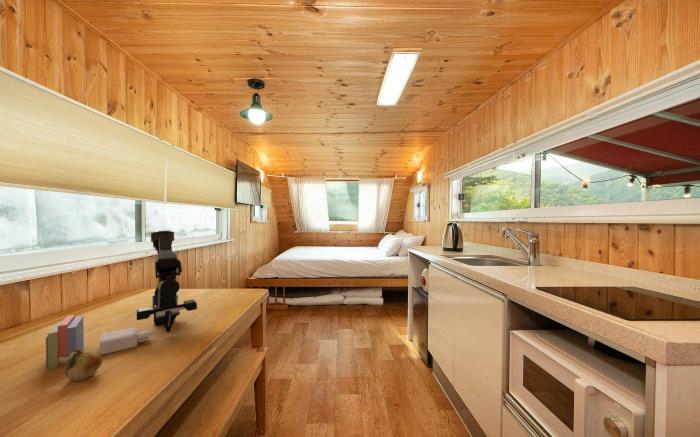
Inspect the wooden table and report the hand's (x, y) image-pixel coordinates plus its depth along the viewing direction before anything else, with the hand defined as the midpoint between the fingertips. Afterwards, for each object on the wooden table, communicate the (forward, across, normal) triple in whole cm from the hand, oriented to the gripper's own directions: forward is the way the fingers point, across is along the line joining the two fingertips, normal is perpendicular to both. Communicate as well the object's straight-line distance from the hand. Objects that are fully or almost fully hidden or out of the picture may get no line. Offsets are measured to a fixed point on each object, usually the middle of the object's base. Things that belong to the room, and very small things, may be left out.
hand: (168, 331), depth 105 cm
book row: (+2, +27, -1) cm, 27 cm away
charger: (+2, +11, 0) cm, 12 cm away
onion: (+2, +21, +18) cm, 28 cm away
